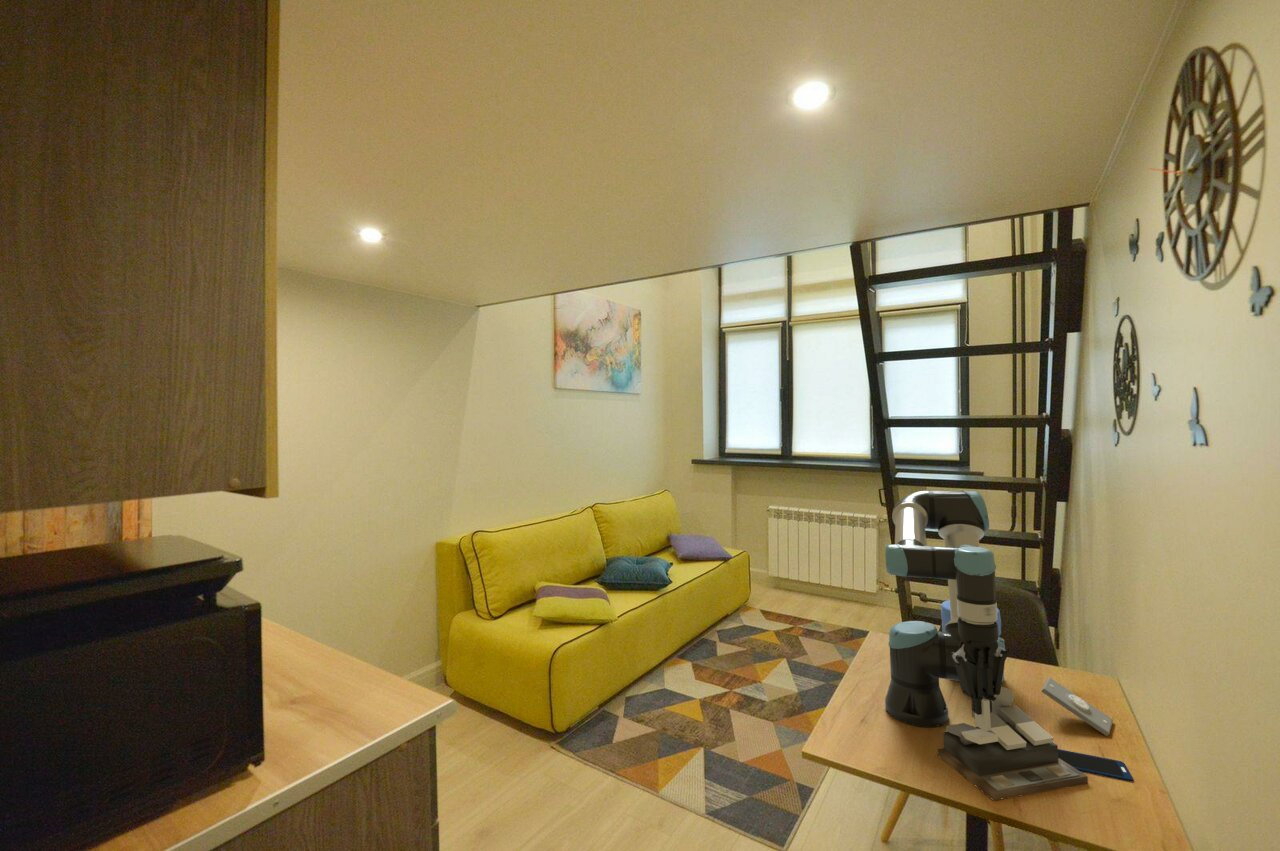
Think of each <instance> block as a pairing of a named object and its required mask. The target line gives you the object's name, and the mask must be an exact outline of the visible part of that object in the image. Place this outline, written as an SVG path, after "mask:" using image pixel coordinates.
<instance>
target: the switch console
mask: <svg viewBox="0 0 1280 851" xmlns="http://www.w3.org/2000/svg"><path fill="white" fill-rule="evenodd" d="M1005 723H1006V724H1007V725H1008V726H1009V727H1010V728H1011V726H1012V725H1011V724H1010V723H1009V722H1005ZM975 727H976V728H979V727H978V726H975ZM979 729H981V728H979ZM1019 736H1020V737H1021V738H1022V739H1023V740H1025V741H1026V742H1027V743H1026V747H1023V748H1017V749H1011V750H1006V749H1005V748H1004V747H1003V746H1002V745H1001V744H1000V743H999V742H998V741H997V742H991V743H985V744H977V743H973V744H967V745H964V744H962V742H961V741H960V737H959V736H957V735H954V734H952V733H949V732H947V731H943V733H942V737H943V747H942V748H941V747H940V748H937V757H939V756H940V757H941V758H942V759H941V758H940V757H939V758H940V759H941V760H943V761H944V762H945V763H946V762H947V763H946V764H947V765H949V766H950V767H951V766H952V767H951V768H953V769H954V770H955V771H956V770H957V771H958V772H957V771H956V772H957V773H959V774H960V775H961V774H962V775H963V776H962V775H961V776H962V777H964V778H965V777H966V778H967V779H968V781H969V780H970V781H971V782H972V783H973V784H974V785H973V784H972V783H971V782H970V781H969V782H970V783H971V784H972V785H973V786H975V785H976V786H977V787H978V788H979V789H978V788H977V787H976V786H975V787H976V788H977V789H978V790H979V791H981V790H982V791H983V792H984V793H983V792H982V791H981V792H982V793H983V794H985V793H986V794H987V795H988V796H989V797H990V798H989V797H988V796H987V795H986V794H985V795H986V796H987V797H988V798H989V799H991V798H992V799H993V800H996V801H999V800H998V799H1001V798H1007V799H1009V798H1008V797H1012V798H1016V797H1015V796H1018V797H1021V796H1020V795H1023V796H1027V795H1026V794H1028V795H1032V794H1038V793H1043V792H1049V791H1053V790H1059V789H1064V788H1069V787H1075V786H1080V785H1085V784H1088V783H1089V777H1088V775H1087V774H1085V773H1084V772H1081V771H1079V770H1077V769H1075V768H1074V767H1072V766H1071V765H1069V764H1067V763H1066V762H1064V761H1063V760H1061V759H1059V758H1058V749H1059V747H1058V744H1056V743H1055V742H1054V741H1053V742H1052V743H1046V744H1041V745H1035V746H1034V745H1033V744H1032V743H1031V742H1030V741H1029V740H1028V739H1027V738H1025V737H1024V736H1023V735H1022V734H1019ZM966 778H965V779H966ZM967 779H966V780H967ZM992 799H991V800H992ZM993 800H992V801H993Z"/></svg>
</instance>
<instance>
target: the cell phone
mask: <svg viewBox="0 0 1280 851" xmlns="http://www.w3.org/2000/svg"><path fill="white" fill-rule="evenodd" d="M1058 758H1059V759H1061V760H1063V761H1064V762H1066V763H1067V764H1069V765H1071V766H1072V767H1074V768H1075V769H1077V770H1079V771H1080V772H1082V773H1086V774H1091V775H1097V776H1102V777H1107V778H1111V779H1117V780H1122V781H1125V782H1126V781H1127V782H1130V783H1131V782H1134V778H1133V776H1132V773H1131V772H1130V770H1129V768H1128V767H1127V764H1126V763H1124V761H1121V760H1116V759H1112V758H1107V757H1102V756H1096V755H1091V754H1086V753H1080V752H1075V751H1071V750H1065V749H1061V748H1058Z"/></svg>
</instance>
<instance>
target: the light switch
mask: <svg viewBox="0 0 1280 851" xmlns="http://www.w3.org/2000/svg"><path fill="white" fill-rule="evenodd" d="M1041 693H1043V694H1044V695H1046V696H1048V698H1050V699H1052V700H1053V701H1054V702H1056V703H1057V704H1058V705H1060V706H1062V707H1063V708H1065V709H1066V710H1067V711H1069V712H1070V713H1072V714H1073V715H1074V716H1076V717H1078V718H1079V719H1081V720H1083V722H1085V723H1086V724H1087V725H1089V726H1091V727H1092V728H1094V729H1095V730H1097V731H1098V732H1100V733H1101V734H1103V735H1104V736H1106V737H1108V736H1109V735H1110V733H1111V728H1112V724H1113V721H1114V720H1113V718H1112V717H1111V716H1109V715H1107V714H1105V712H1103V711H1101V710H1099V709H1098V708H1097V707H1095V706H1093V705H1092V704H1090V703H1089V702H1088V701H1086V700H1084V699H1083V698H1082V697H1080V696H1078V694H1075V693H1074V692H1073V691H1071V690H1070V689H1068V688H1066V687H1065V686H1063V685H1062V684H1061V683H1059V682H1057V681H1056V680H1054V679H1053V678H1051V677H1048V678H1047V679H1046V681H1045V684H1044V685H1043V687H1042V689H1041Z"/></svg>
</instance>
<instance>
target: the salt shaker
mask: <svg viewBox="0 0 1280 851" xmlns="http://www.w3.org/2000/svg"><path fill="white" fill-rule="evenodd" d="M994 697H996V700H995V701H992V711H993V712H994V713H995V714H996V715H997V716H998V717H999V718H1000V719H1001V720H1003V721H1004V722H1008V721H1007V720H1005V719H1004V718H1003V717H1002V716H1001V715H1000V714H999V713H998V708H1002V707H1008V706H1012V705H1013V703H1014V700H1015V696H1014V693H1013V692H1012V691H1011V689H1009V688H1007V687H1005V686H1002V685H1001V691H1000V694H999V695H994Z"/></svg>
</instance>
